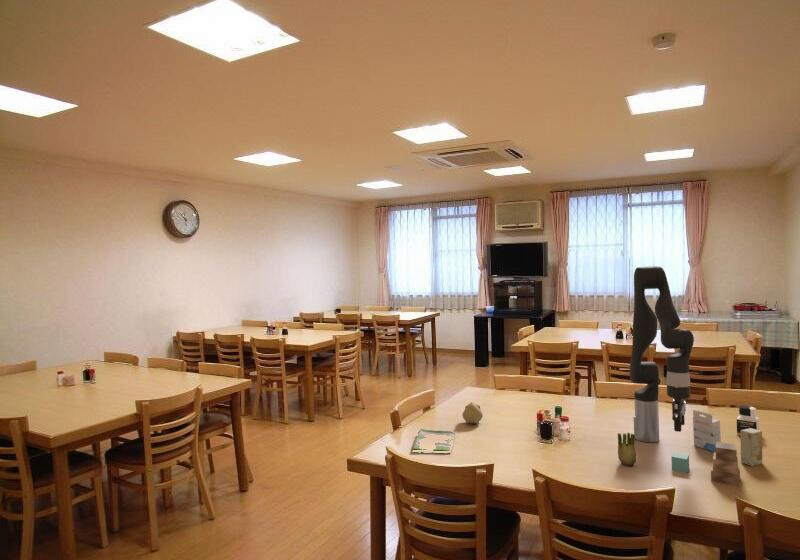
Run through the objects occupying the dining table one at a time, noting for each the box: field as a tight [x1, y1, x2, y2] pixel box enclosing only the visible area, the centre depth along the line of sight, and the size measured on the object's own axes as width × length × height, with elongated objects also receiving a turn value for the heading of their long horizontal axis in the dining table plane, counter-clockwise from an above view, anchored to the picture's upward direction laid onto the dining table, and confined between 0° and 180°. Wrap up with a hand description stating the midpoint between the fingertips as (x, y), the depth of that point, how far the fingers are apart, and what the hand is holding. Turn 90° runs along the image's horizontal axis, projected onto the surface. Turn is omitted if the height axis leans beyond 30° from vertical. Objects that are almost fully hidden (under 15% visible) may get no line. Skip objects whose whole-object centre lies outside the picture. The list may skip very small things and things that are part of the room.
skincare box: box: [740, 428, 763, 467], centre depth 186 cm, size 6×4×12 cm
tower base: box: [710, 463, 741, 487], centre depth 173 cm, size 8×8×4 cm
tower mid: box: [712, 452, 739, 475], centre depth 173 cm, size 7×7×4 cm
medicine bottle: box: [736, 405, 760, 436], centre depth 216 cm, size 7×7×12 cm
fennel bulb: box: [617, 432, 637, 467], centre depth 189 cm, size 6×5×12 cm
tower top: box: [715, 442, 738, 462], centre depth 173 cm, size 6×6×4 cm
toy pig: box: [462, 402, 484, 424], centre depth 246 cm, size 10×12×11 cm
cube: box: [671, 452, 690, 474], centre depth 183 cm, size 5×5×5 cm
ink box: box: [692, 409, 722, 452], centre depth 203 cm, size 9×5×15 cm, turn 23°
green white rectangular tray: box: [412, 428, 456, 451], centre depth 219 cm, size 17×23×4 cm
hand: (679, 427), depth 183 cm, fingers open, 8 cm apart
